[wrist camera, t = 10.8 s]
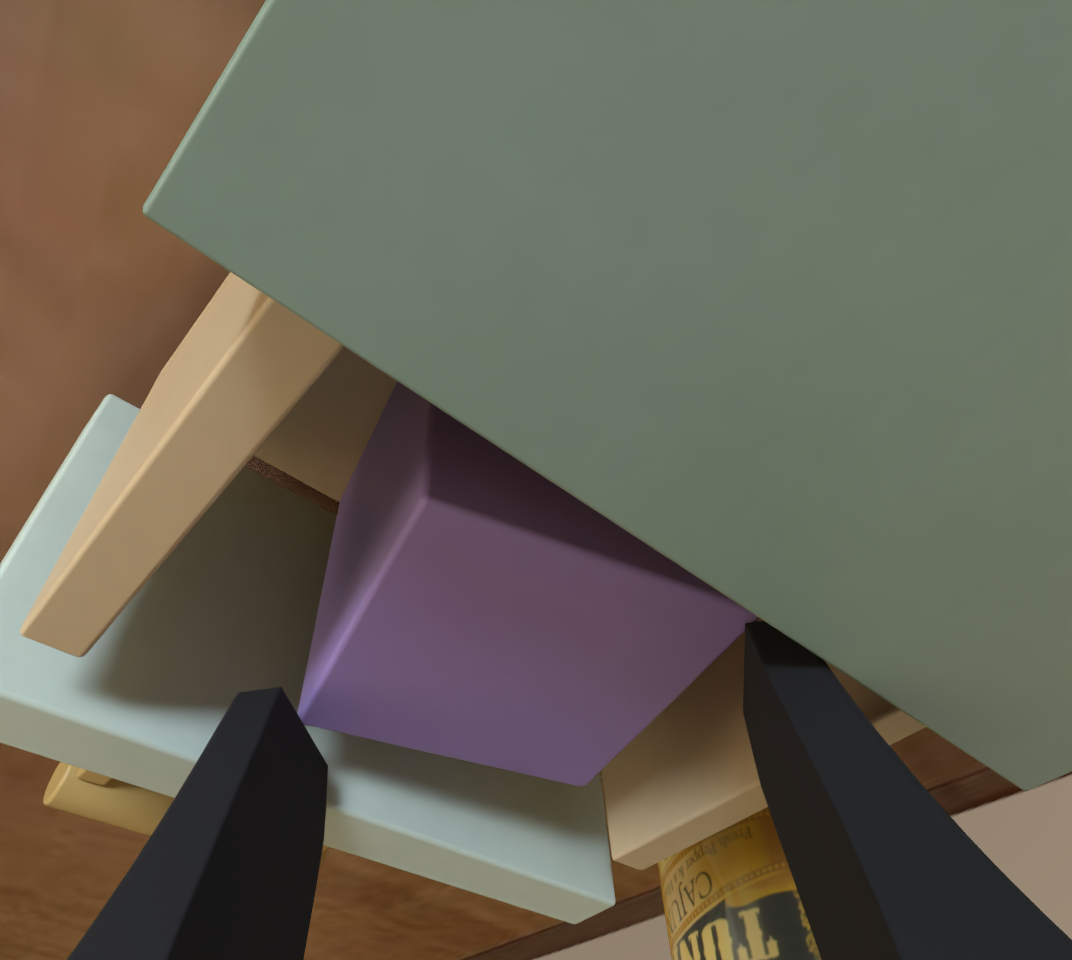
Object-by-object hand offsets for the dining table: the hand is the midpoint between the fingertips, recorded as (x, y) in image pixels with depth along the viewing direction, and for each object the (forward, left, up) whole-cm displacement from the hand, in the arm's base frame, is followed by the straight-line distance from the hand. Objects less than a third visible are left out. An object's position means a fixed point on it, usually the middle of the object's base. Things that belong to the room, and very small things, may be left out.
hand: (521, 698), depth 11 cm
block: (0, -1, -5) cm, 5 cm away
